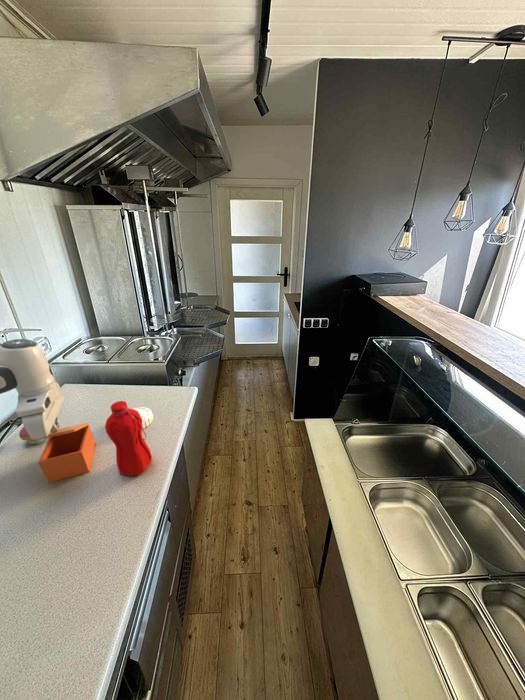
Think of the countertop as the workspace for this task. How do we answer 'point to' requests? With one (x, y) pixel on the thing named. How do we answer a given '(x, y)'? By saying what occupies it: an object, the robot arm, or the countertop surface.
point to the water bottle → (128, 439)
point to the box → (71, 463)
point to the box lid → (64, 431)
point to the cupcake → (25, 436)
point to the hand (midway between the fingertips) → (55, 429)
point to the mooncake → (145, 416)
